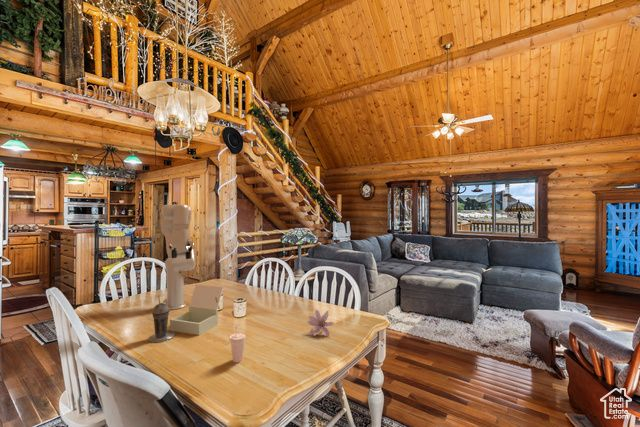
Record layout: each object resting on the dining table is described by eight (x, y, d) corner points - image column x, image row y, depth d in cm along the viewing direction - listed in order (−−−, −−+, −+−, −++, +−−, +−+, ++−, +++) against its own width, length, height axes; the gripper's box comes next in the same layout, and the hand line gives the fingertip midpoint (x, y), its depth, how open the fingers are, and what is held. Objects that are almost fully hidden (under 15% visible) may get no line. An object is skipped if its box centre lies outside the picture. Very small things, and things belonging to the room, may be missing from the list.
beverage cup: (173, 334, 145) (172, 293, 144) (160, 340, 138) (160, 297, 138) (161, 332, 147) (161, 291, 147) (148, 338, 140) (148, 295, 140)
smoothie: (231, 356, 123) (231, 322, 123) (247, 355, 124) (247, 322, 124) (227, 364, 117) (227, 328, 117) (244, 363, 117) (244, 328, 117)
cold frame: (170, 330, 150) (169, 293, 150) (196, 317, 168) (196, 284, 168) (199, 335, 145) (198, 296, 145) (223, 321, 163) (223, 286, 162)
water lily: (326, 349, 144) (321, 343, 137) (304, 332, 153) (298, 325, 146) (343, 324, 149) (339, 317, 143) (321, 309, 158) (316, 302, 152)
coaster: (142, 340, 138) (142, 339, 138) (162, 331, 149) (162, 330, 149) (161, 344, 135) (161, 342, 135) (179, 334, 145) (179, 333, 145)
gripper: (163, 227, 163) (163, 258, 163) (188, 227, 158) (188, 260, 158) (173, 226, 170) (174, 256, 170) (198, 227, 165) (198, 258, 165)
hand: (181, 258), depth 164 cm, fingers open, 9 cm apart
